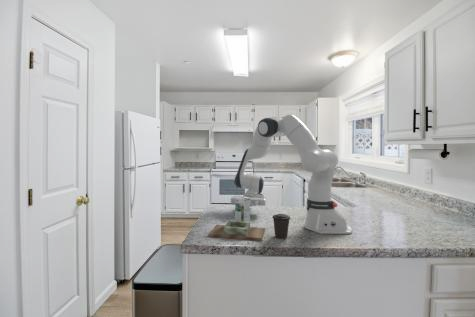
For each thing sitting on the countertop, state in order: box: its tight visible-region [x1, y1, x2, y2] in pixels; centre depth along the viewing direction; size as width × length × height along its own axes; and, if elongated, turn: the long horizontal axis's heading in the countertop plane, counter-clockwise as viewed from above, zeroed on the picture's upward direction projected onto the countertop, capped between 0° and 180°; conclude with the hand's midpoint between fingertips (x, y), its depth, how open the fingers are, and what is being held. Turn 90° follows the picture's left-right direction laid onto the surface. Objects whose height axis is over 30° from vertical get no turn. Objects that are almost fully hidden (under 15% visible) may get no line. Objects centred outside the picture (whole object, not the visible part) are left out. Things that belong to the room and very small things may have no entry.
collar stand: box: [208, 220, 266, 242], centre depth 125 cm, size 24×14×4 cm, turn 79°
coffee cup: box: [272, 213, 291, 240], centre depth 121 cm, size 8×8×10 cm
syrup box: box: [234, 195, 251, 223], centre depth 137 cm, size 6×6×14 cm
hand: (246, 203), depth 149 cm, fingers open, 8 cm apart
